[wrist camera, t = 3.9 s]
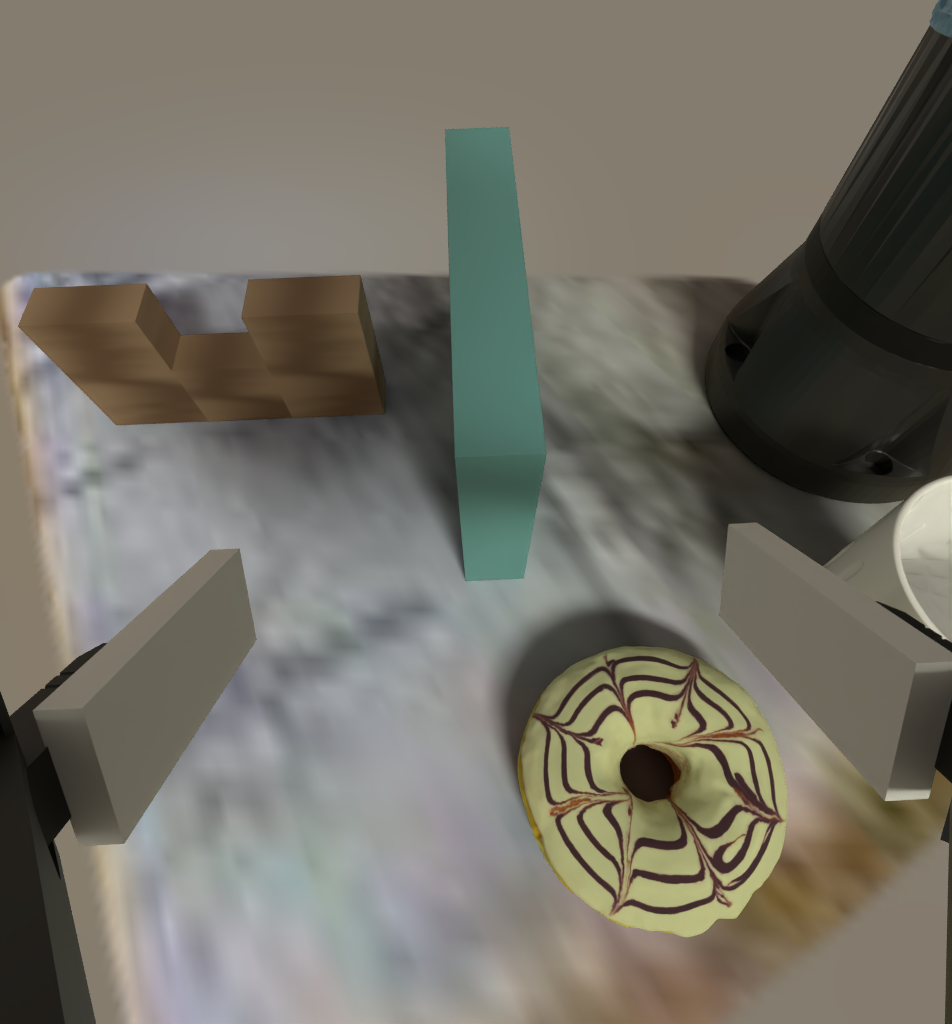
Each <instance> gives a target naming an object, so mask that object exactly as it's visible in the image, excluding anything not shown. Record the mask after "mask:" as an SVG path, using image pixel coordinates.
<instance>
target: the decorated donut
mask: <svg viewBox="0 0 952 1024" xmlns="http://www.w3.org/2000/svg"><path fill="white" fill-rule="evenodd" d="M642 744H643V745H645V746H648V747H650V748H653V749H656V750H658V751H660V752H662V754H663V755H664V756H665V757H667V758H666V759H667V760H668V761H670V763H671V766H672V768H673V771H674V785H672V786H671V787H670V790H669V791H670V795H669V796H667V797H666V799H662V800H655V801H652V802H646V801H644V800H640V799H638V798H637V797H635V796H634V795H633V794H632V793H631V792H630V791H629V789H628V788H627V786H626V785H625V784H624V782H623V780H622V778H621V774H620V762H622V760H621V758H622V757H623V755H624V753H626V751H627V750H628V749H631V748H634V747H635V746H636V745H642ZM517 770H518V781H519V787H520V792H521V796H522V800H523V804H524V806H525V809H526V812H527V816H528V820H529V824H530V827H531V828H532V830H533V834H534V837H535V839H536V841H537V843H538V844H539V846H540V848H541V851H542V853H543V855H544V857H545V859H546V861H547V862H548V863H549V865H550V866H551V868H552V869H553V871H554V872H555V874H556V875H557V877H558V878H559V880H560V881H561V882H562V884H563V885H564V886H565V887H567V888H568V889H569V890H570V891H571V892H572V893H574V894H576V895H577V896H578V897H580V898H581V899H582V900H583V901H584V902H586V903H587V904H588V905H589V906H591V907H592V908H593V909H595V910H596V911H597V912H599V913H600V914H602V915H603V916H605V917H606V918H608V919H609V920H610V921H613V922H615V923H617V924H619V925H621V926H624V927H629V928H631V927H637V928H641V929H643V930H646V931H662V932H665V933H669V934H676V935H678V936H682V937H691V936H695V935H699V934H701V933H703V932H705V931H706V930H707V929H708V928H709V927H710V926H711V925H712V924H713V923H714V922H715V920H717V919H720V918H722V919H728V918H729V919H734V918H736V917H737V916H738V915H739V914H740V912H741V911H742V910H743V908H744V907H745V905H746V904H747V902H748V901H749V899H750V898H751V896H752V894H753V892H754V891H755V890H756V889H758V888H760V887H761V886H762V884H763V883H764V881H765V880H766V879H767V878H768V877H769V875H770V873H771V872H772V870H773V868H774V866H775V864H776V863H777V861H778V859H779V857H780V855H781V851H782V847H783V843H784V837H785V828H786V823H787V800H788V792H787V785H786V780H785V773H784V768H783V766H782V761H781V758H780V755H779V752H778V749H777V745H776V741H775V739H774V737H773V735H772V733H771V731H770V728H769V726H768V724H767V722H766V720H765V719H764V717H763V715H762V713H761V712H760V710H759V709H758V708H757V706H756V705H755V703H754V702H753V700H752V698H751V697H750V696H749V694H748V693H747V692H746V691H745V690H744V689H743V688H742V687H741V686H739V685H738V684H737V683H736V682H734V681H733V680H731V679H730V678H729V677H727V676H726V675H725V674H724V673H722V672H721V671H719V670H718V669H716V668H714V667H713V666H711V665H710V664H708V663H707V662H705V661H703V660H701V659H698V658H696V657H693V656H691V655H687V654H685V653H682V652H680V651H677V650H674V649H670V648H663V647H646V646H637V647H629V646H622V647H619V648H614V649H609V650H606V651H603V652H601V653H598V654H597V655H595V656H591V657H588V658H586V659H583V660H581V661H579V662H577V663H575V664H573V665H571V666H570V667H569V668H568V669H567V670H566V671H564V672H563V673H562V674H560V675H559V676H558V677H556V678H555V679H554V680H553V681H552V682H551V683H550V684H549V685H548V687H547V688H546V689H545V690H544V691H543V693H542V694H541V696H540V698H539V700H538V701H537V703H536V705H535V707H534V709H533V711H532V713H531V715H530V717H529V719H528V723H527V725H526V728H525V730H524V734H523V737H522V741H521V745H520V750H519V755H518V767H517Z"/></svg>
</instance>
